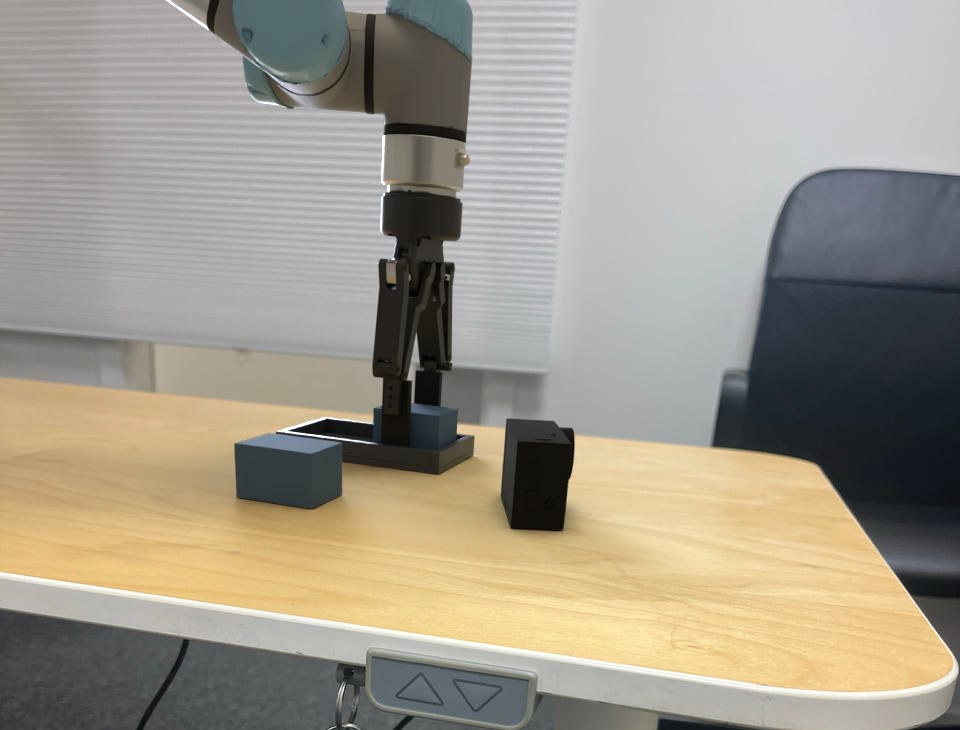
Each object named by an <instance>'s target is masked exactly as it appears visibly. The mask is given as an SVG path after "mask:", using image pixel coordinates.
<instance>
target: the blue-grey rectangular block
mask: <svg viewBox="0 0 960 730" xmlns="http://www.w3.org/2000/svg"><path fill="white" fill-rule="evenodd" d="M233 445H234V468H235V469H234V471H235V494H236V495H235V496H236V498H238V499H245V500H250V501H257V502H264V503H270V504H275V505H283V506H289V507H295V508H296V507H298V508H301V509H302V508H304V509H308V510H313V509H316V508H317V507H319V506H321V505H323V504H326V503H327V502H330V501H332V500H334V499H336V498H338V497H340V496H342V495H343V461H342V443H341V442H333V441H326V440H318V439H311V438H303V437H296V436H288V435H281V434H276V433H273V432H272V433H271V432H268V433H264V434H261V435H258V436H254V437H251V438H248V439H244V440H241V441H238V442H234V444H233Z"/></svg>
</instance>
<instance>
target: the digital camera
mask: <svg viewBox="0 0 960 730" xmlns="http://www.w3.org/2000/svg"><path fill="white" fill-rule="evenodd" d="M503 446H504V447H503V456H502V457H503V458H502V471H501V484H500V499H501V501H502V505H503V508H504V511H505V514H506V517H507V520H508V524H509V527H510V528H511V529H527V530H553V531H563V530H564V529H565V522H566V521H565V520H566V510H567V500H568V491H569V481H570V479H571V477H572V473H573V470H574V469H573V468H574V464H575V463H574V462H575V448H576V447H575V446H576V441H575V431H574V428H573V427H566V426H565V427H563V426H562V427H561V426H559V425H558V424H557V422H556V421H554V420H545V419H526V418H511V417H510V418H506V419H505V430H504V444H503Z"/></svg>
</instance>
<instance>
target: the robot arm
mask: <svg viewBox="0 0 960 730" xmlns="http://www.w3.org/2000/svg"><path fill="white" fill-rule="evenodd" d="M166 2H168V3H169V4H171V5H172V6H174V8H177V9H178V10H179V11H181V12H182V13H183V14H185V15H186V16H188V17H189V18H191V20H193V21H195V22H196V23H198V24H199V25H201V26H202V27H203V28H205V29H206V30H208V31H209V32H210V33H212V34H213V35H214V36H216V38H217V39H219V40H220V41H222V42H223V43H224V44H225V45H227V46H229V47H230V48H231V49H233V50H234V51H236V52H237V53H238V54H240V55H241V56H242V66H243V74H244V75H243V76H244V80H245V83H246V88H247V92H248V93H249V95H250V96H251V97H252V99H253V100H254V101H256V102H258V103H261V104H268V105H275V106H280V107H283V108H285V109H286V110H293V109H295V108H296V109H297V108H299V109H312V110H313V109H314V110H325V111H337V112H338V111H339V112H351V113H365V114H366V115H381V116H383V124H384V126H383V136H382V156H381V158H382V159H381V179H380V180H381V181H380V182H381V183H382V184H383V186H386V187H387V191H385V192H383V195H381V203H380V232H381V233H382V235H383V236H386V237H392V238H393V237H395V245H394V251H393V255H392V256H393V257H392V258H379V260H378V265H377V266H378V267H377V268H378V297H377V307H376V308H377V309H376V320H375V330H374V340H373V343H374V344H373V354H372V365H371V369H372V370H371V371H372V376H373V377H374V378H380V379H382V396H381V406H382V424H381V444H388V445H396V446H403V447H409V442H410V420H411V403H412V395H413V380H412V379H409V373H410V368H411V362H412V358H413V353H414V347H415V342H416V341H417V352H418V360H419V367H420V369H415V372H414V373H415V374H414V376H415V377H414V397H413V399H414V400H413V403H414V404H423V405H432V406H440V407H442V390H443V389H442V388H443V374H444V373H443V372H447V373H448V372H449V373H450V372H451V371H452V369H453V362H452V358H453V354H452V353H453V286H454V278H455V271H456V265H455V262H454V261H453V262H452V261H445V257H444V246H443V245H444V242H453V243H455V242H458V241H459V240H460V239H461V237H462V236H461V235H462V219H463V205H464V204H463V202H461V201H462V199H460V198H458V197H457V193H459V192H461V191H463V190H464V177H465V167H467V166H468V165H469V164H470V162H471V157H470V155H469V154H466V147H467V144H466V143H467V133H468V120H469V106H470V94H471V79H472V68H473V59H474V58H473V23H474V22H473V20H474V14H473V9H472V7H471V5H470V3H469V1H468V0H387V3H386V7H385V8H384V11H385V13H378V12H377V13H362V12H356V11H355V12H354V11H347V10H346V9H345V6H344V3H343V0H166Z"/></svg>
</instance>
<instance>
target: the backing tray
mask: <svg viewBox="0 0 960 730" xmlns="http://www.w3.org/2000/svg"><path fill="white" fill-rule="evenodd" d="M275 434H281V435H288V436H296V437H303V438H311V439H318V440H326V441H333V442H341V443H342V462H346V463H352V464H360V465H368V466H374V467H381V468H389V469H396V470H403V471H410V472H418V473H425V474H433V475H440V474H442V473H443V472H445V471H447V470H450V469H451V468H453V467H455V466H457V465H459V464H460V463H462V462H463V461H466V460H467V459H470V458H471V457H473V456H474V455H475V453H474V452H475V437H476V436H475V435H474V434H473V435H471V434H466V433H465V434H464V433H457V440H456V441H454V442H452V443H450V444H448V445H446V446H443V447H441V448H439V449H437V450H435V451H434V450H426V449H418V448H411V447H403V446H396V445H388V444H380V443H373V422H367V421H360V420H354V419H353V420H351V419H344V418H336V417H329V416H323V417H319V418H315V419H313V420H309V421H306V422H303V423H300V424H296V425H294V426H290V427H286V428H283V429H280V430H276V431H275Z"/></svg>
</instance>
